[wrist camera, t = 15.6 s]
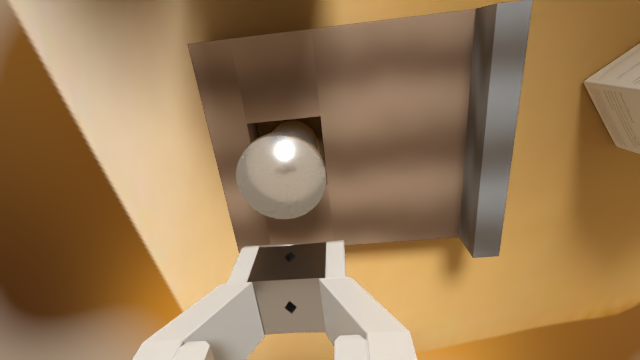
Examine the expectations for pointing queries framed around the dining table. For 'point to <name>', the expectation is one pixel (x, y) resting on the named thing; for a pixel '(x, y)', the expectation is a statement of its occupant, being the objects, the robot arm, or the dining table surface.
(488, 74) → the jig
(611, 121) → the supplement box
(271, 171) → the frosted bulb shape
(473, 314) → the dining table surface
